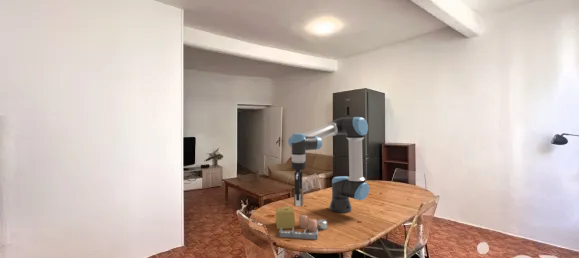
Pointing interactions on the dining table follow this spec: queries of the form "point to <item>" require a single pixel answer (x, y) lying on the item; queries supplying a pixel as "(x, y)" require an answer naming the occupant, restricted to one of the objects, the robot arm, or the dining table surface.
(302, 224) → the brown egg
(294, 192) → the walnut post
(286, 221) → the cheese
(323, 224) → the chrome metal ball
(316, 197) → the dining table surface
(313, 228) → the pale pink egg
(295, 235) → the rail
